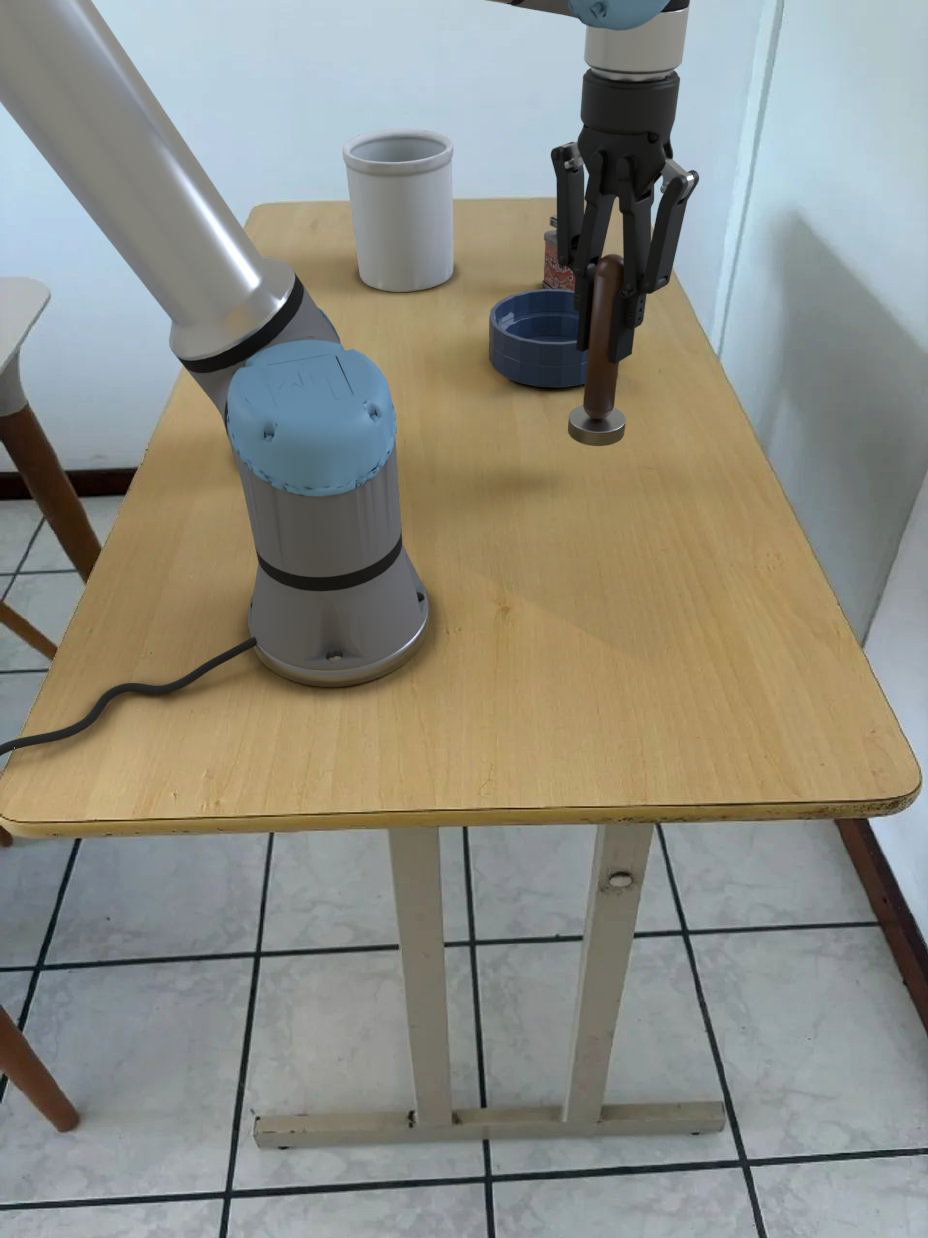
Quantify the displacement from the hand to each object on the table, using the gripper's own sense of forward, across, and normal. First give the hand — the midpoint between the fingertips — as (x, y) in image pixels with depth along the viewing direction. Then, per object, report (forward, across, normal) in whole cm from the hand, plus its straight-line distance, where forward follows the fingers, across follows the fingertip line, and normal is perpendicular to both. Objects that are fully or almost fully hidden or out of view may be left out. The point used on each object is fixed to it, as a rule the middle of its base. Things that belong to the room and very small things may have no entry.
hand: (603, 351), depth 90 cm
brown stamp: (+9, 0, 0) cm, 9 cm away
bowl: (+14, +19, -17) cm, 29 cm away
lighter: (+14, +30, -34) cm, 48 cm away
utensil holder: (+14, +52, -25) cm, 59 cm away
